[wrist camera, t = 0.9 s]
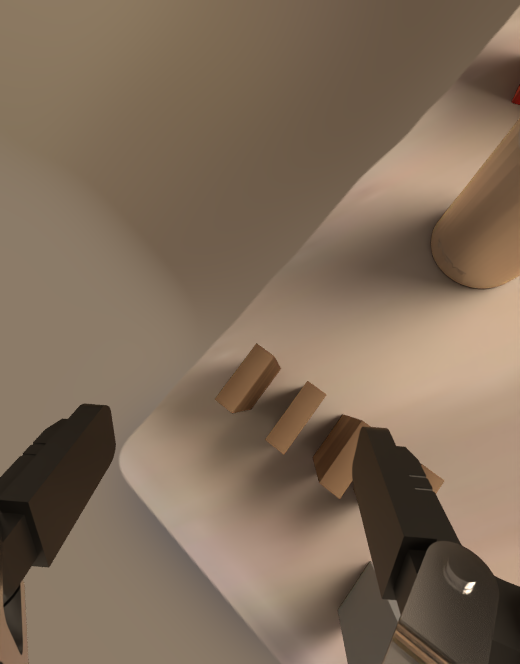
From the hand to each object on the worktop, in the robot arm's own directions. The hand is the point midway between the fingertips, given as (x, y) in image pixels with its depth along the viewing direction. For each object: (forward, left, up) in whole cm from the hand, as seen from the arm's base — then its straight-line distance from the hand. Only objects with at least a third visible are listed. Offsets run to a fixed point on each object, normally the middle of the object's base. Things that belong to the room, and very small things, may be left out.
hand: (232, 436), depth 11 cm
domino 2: (-2, +1, -23) cm, 23 cm away
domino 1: (0, -3, -23) cm, 23 cm away
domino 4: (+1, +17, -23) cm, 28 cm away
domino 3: (-4, +5, -23) cm, 24 cm away
